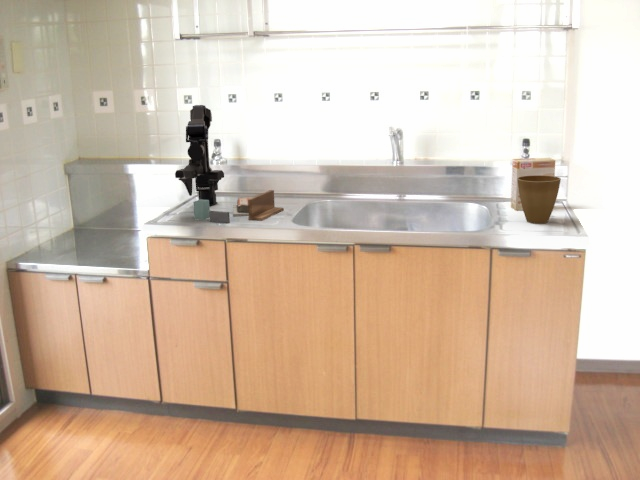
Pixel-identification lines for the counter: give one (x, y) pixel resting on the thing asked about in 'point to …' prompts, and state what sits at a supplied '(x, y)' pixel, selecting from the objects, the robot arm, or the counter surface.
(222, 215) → the block
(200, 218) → the pale teal block
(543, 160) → the coffeecake box
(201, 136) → the robot arm
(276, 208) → the walnut bookend
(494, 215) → the counter surface
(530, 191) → the plant pot
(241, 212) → the packaged product
